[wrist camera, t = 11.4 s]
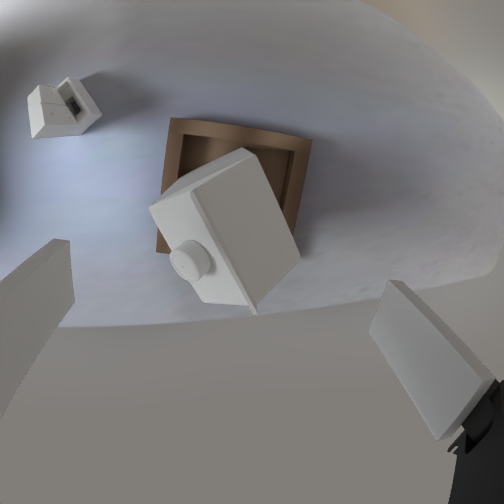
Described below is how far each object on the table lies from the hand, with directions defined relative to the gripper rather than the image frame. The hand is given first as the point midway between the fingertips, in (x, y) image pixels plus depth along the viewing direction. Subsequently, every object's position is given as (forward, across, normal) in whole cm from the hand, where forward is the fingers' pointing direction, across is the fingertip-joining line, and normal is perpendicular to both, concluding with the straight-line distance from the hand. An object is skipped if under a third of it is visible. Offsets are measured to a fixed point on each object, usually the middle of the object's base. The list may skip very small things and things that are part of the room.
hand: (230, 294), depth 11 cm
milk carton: (+22, 0, 0) cm, 23 cm away
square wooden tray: (+23, +1, 0) cm, 23 cm away
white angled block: (+24, -18, +8) cm, 31 cm away
